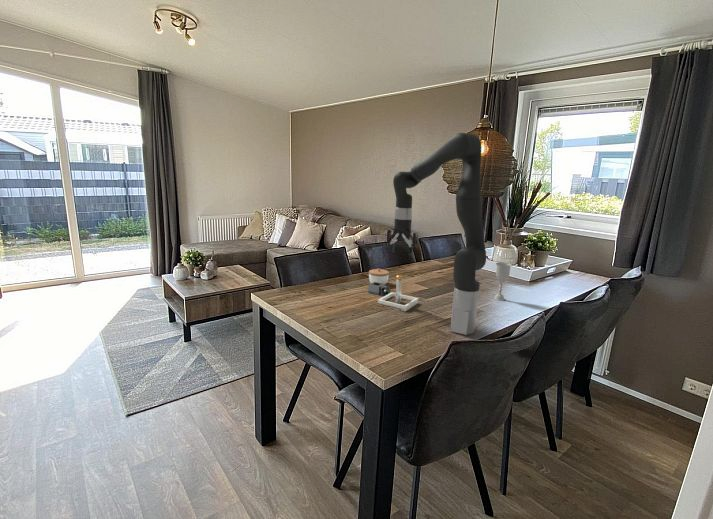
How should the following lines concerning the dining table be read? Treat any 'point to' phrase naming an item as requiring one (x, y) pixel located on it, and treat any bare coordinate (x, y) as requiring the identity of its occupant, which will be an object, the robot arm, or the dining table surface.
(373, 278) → the lidded jar
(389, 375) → the dining table surface
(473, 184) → the robot arm
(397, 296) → the pin
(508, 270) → the chalice
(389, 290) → the block
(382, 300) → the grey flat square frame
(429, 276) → the dining table surface
